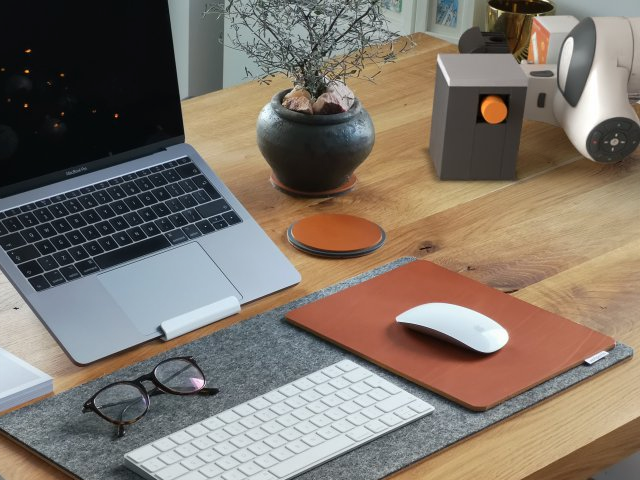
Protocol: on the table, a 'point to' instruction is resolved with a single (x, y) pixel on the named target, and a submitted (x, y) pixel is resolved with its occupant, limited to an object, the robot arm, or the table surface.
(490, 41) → the end cap
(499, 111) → the power button
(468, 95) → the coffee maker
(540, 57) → the small box
